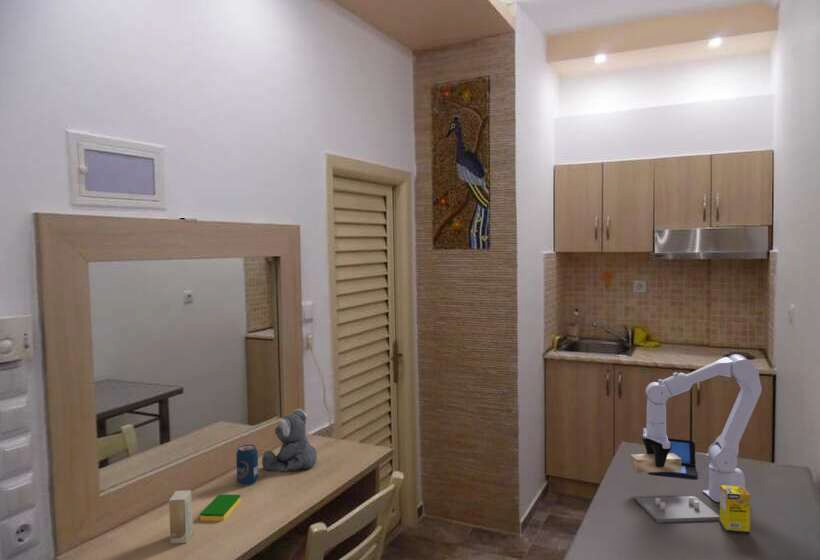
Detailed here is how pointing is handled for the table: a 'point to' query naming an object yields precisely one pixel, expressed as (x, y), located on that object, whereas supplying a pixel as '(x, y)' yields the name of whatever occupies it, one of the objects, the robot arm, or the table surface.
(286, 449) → the koala plush
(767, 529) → the table surface
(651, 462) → the shelf board
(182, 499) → the skincare box
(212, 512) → the dish sponge
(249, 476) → the soda can
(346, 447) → the table surface
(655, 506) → the peg stand
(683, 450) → the handheld game console
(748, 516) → the supplement box
